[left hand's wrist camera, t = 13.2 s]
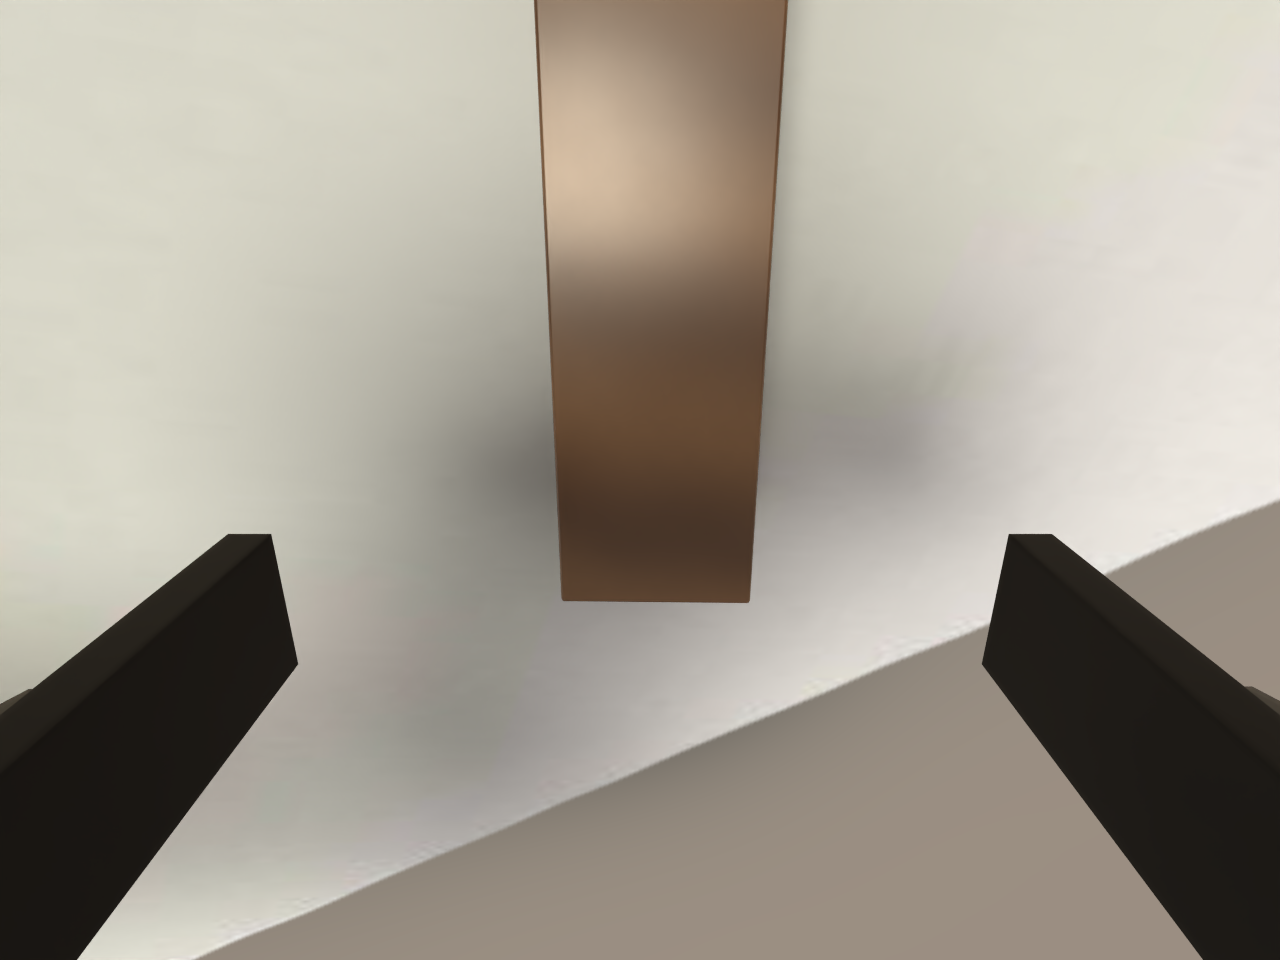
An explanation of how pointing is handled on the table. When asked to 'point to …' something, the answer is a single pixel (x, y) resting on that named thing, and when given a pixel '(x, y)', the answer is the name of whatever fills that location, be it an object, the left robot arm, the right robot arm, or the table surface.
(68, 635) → the table surface
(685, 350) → the beam
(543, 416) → the table surface
